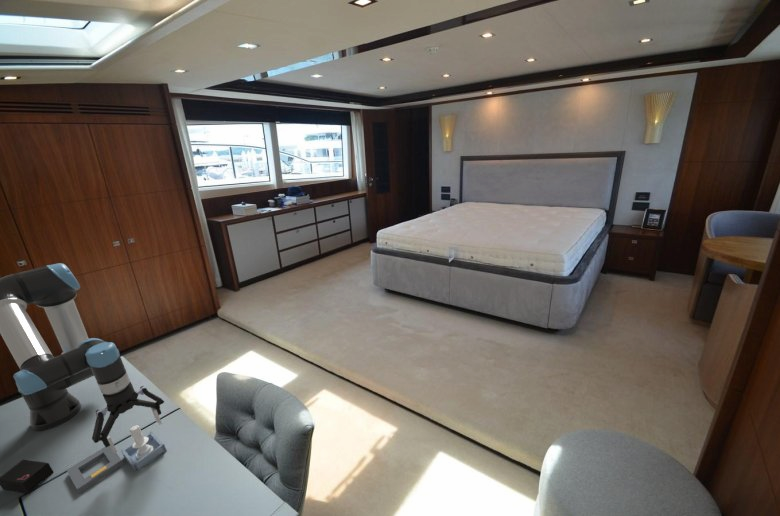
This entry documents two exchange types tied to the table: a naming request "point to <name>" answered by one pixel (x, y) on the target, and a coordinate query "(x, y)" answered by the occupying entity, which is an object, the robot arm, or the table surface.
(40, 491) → the table surface
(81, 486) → the socket panel
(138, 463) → the tray
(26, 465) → the electronic device
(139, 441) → the white cylindrical piece
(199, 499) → the table surface
